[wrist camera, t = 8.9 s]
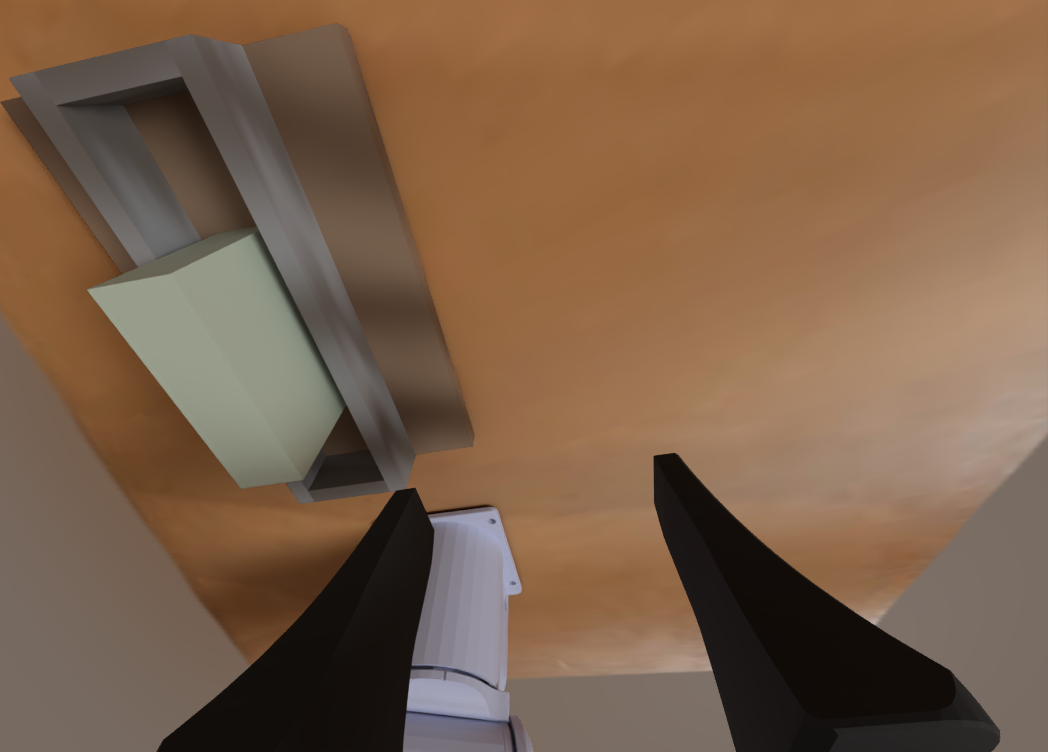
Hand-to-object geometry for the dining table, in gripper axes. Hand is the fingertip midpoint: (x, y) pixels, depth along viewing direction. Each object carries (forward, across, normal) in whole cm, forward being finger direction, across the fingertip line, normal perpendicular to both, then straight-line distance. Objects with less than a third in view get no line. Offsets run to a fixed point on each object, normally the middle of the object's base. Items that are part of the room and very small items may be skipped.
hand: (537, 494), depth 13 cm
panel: (+8, +10, -4) cm, 14 cm away
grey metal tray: (+9, +10, -4) cm, 14 cm away
